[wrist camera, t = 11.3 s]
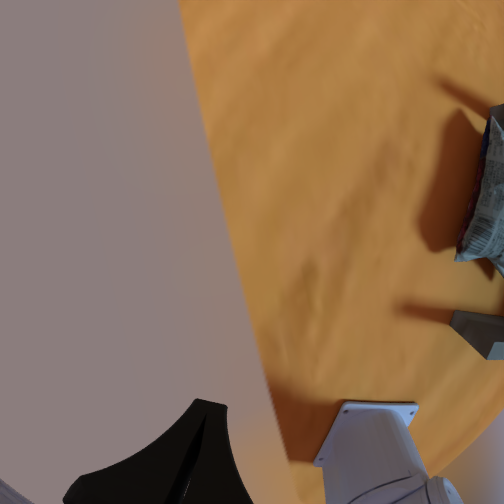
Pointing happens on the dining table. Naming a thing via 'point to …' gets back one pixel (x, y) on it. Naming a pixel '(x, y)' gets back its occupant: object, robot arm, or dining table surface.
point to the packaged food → (486, 204)
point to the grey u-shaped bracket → (482, 325)
